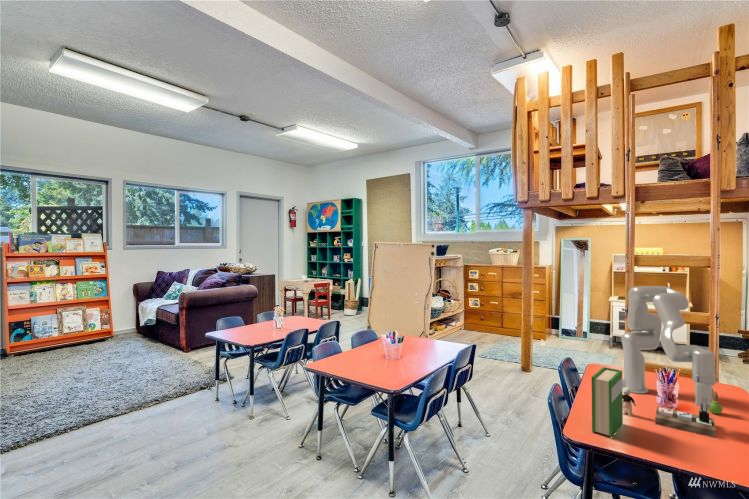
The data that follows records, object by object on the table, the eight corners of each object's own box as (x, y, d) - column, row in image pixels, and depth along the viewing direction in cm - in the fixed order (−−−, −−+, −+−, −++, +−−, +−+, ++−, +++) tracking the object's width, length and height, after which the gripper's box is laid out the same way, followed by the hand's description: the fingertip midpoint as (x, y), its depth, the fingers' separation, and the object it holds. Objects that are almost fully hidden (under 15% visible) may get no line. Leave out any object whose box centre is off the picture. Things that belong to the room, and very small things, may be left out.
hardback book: (612, 438, 156) (611, 381, 156) (592, 432, 161) (591, 376, 161) (622, 424, 168) (622, 370, 168) (603, 418, 173) (603, 367, 173)
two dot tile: (658, 416, 171) (658, 410, 170) (659, 412, 174) (659, 406, 174) (672, 419, 167) (672, 413, 167) (672, 415, 171) (672, 409, 171)
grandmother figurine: (637, 415, 177) (637, 388, 176) (635, 418, 174) (635, 390, 174) (618, 410, 182) (617, 384, 182) (616, 413, 179) (616, 386, 179)
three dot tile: (677, 420, 166) (677, 414, 166) (677, 416, 170) (677, 410, 170) (691, 423, 163) (691, 417, 163) (691, 419, 167) (691, 413, 167)
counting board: (655, 424, 168) (655, 417, 168) (656, 412, 179) (656, 406, 179) (715, 437, 155) (715, 430, 155) (713, 425, 166) (713, 418, 166)
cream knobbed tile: (696, 427, 162) (696, 421, 162) (696, 423, 166) (695, 417, 166) (711, 431, 159) (711, 424, 159) (711, 426, 163) (711, 420, 163)
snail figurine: (717, 410, 180) (717, 385, 180) (725, 416, 174) (724, 390, 174) (703, 409, 182) (703, 384, 181) (710, 414, 176) (710, 389, 175)
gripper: (691, 372, 171) (692, 413, 171) (692, 381, 159) (693, 425, 159) (714, 375, 166) (714, 417, 166) (716, 385, 154) (717, 430, 154)
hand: (704, 421), depth 162 cm, fingers closed
